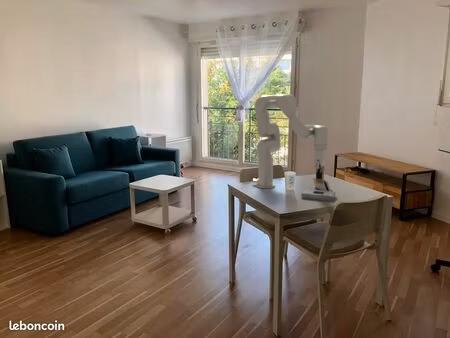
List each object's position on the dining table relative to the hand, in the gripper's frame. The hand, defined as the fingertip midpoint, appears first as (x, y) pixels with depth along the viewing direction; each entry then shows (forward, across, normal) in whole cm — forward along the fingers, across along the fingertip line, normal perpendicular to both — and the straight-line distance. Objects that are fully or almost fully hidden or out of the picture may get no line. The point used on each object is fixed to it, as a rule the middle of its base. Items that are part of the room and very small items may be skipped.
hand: (319, 177), depth 220 cm
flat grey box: (+12, 0, -1) cm, 12 cm away
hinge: (+13, -18, -2) cm, 22 cm away
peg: (+3, 0, 0) cm, 3 cm away
